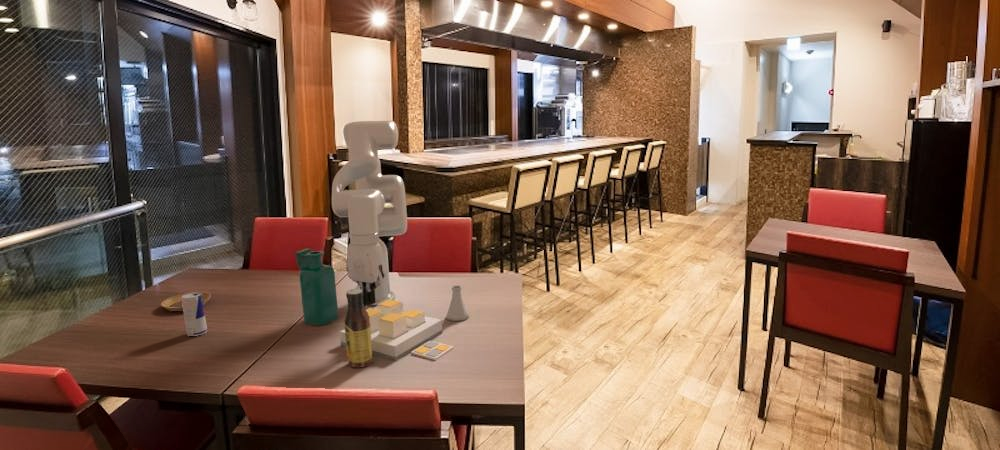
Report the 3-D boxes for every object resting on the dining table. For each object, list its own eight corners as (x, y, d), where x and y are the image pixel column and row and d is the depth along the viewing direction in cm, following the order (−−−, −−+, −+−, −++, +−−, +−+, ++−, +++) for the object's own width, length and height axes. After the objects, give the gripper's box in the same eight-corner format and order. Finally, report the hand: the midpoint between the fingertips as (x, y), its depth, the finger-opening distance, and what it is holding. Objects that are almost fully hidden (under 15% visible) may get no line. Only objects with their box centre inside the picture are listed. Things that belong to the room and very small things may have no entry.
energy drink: (211, 331, 164) (206, 293, 162) (196, 338, 159) (190, 299, 157) (197, 329, 166) (192, 291, 163) (182, 336, 161) (176, 297, 159)
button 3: (379, 336, 149) (378, 318, 148) (392, 329, 154) (391, 312, 153) (393, 339, 147) (392, 322, 146) (406, 332, 151) (405, 315, 150)
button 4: (399, 331, 156) (398, 314, 155) (411, 324, 161) (410, 308, 160) (413, 334, 154) (412, 318, 153) (425, 328, 158) (424, 311, 157)
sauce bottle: (350, 358, 145) (344, 286, 140) (374, 357, 145) (369, 285, 141) (345, 370, 138) (339, 295, 134) (371, 368, 139) (365, 294, 134)
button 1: (357, 330, 153) (356, 313, 152) (371, 323, 158) (369, 307, 157) (371, 334, 151) (370, 316, 150) (384, 327, 155) (383, 310, 154)
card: (411, 353, 147) (411, 351, 146) (430, 342, 153) (429, 339, 153) (435, 360, 142) (435, 357, 142) (453, 348, 149) (453, 345, 149)
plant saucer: (167, 318, 176) (166, 310, 175) (157, 306, 187) (156, 299, 186) (217, 306, 185) (216, 299, 185) (205, 296, 196) (204, 289, 196)
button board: (341, 344, 153) (340, 331, 152) (390, 320, 170) (389, 308, 169) (395, 360, 143) (394, 346, 142) (442, 332, 160) (441, 319, 159)
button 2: (378, 320, 160) (376, 304, 159) (390, 314, 164) (389, 298, 163) (391, 323, 157) (390, 307, 156) (403, 317, 162) (402, 301, 161)
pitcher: (341, 317, 173) (335, 249, 168) (322, 327, 166) (315, 256, 161) (317, 312, 177) (310, 246, 172) (297, 322, 170) (290, 253, 165)
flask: (465, 322, 167) (464, 291, 165) (443, 321, 168) (441, 290, 166) (471, 313, 174) (470, 283, 172) (449, 312, 175) (448, 282, 173)
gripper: (334, 239, 149) (339, 303, 153) (375, 244, 141) (380, 312, 145) (354, 234, 155) (359, 296, 159) (395, 239, 148) (399, 304, 151)
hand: (369, 303), depth 152 cm, fingers closed
